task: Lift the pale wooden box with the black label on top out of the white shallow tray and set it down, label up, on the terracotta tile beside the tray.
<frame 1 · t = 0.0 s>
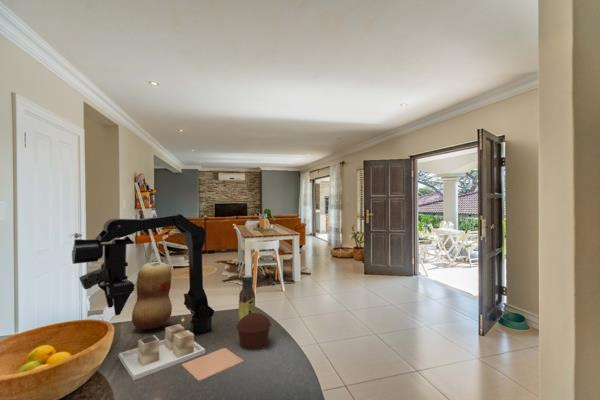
hand: (113, 311, 86), 15 cm above the kitchen counter, tool pointing down, fingers open, 9 cm apart
labelled box: (148, 360, 84), point 1 cm above the kitchen counter, touching white shallow tray
plain box A: (174, 346, 93), point 1 cm above the kitchen counter, touching white shallow tray
plain box B: (183, 353, 88), point 1 cm above the kitchen counter, touching white shallow tray
sauce bottle: (246, 328, 109), on the kitchen counter
muffin: (253, 345, 96), on the kitchen counter
butternut squash: (152, 329, 108), on the kitchen counter
white shallow tray: (162, 357, 87), on the kitchen counter
terracotta tile: (213, 365, 83), on the kitchen counter
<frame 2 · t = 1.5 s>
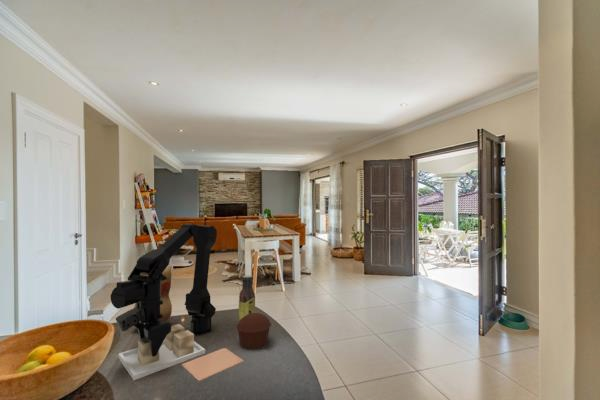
hand: (148, 350, 84), 3 cm above the kitchen counter, tool pointing down, fingers open, 9 cm apart
nothing on the kitchen counter moved.
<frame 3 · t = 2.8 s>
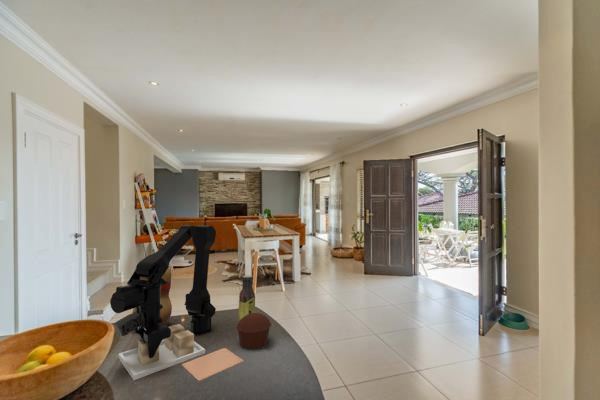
hand: (148, 354, 84), 2 cm above the kitchen counter, tool pointing down, fingers closed on labelled box, 4 cm apart
labelled box: (148, 360, 84), point 1 cm above the kitchen counter, touching gripper, white shallow tray
everything else where it was.
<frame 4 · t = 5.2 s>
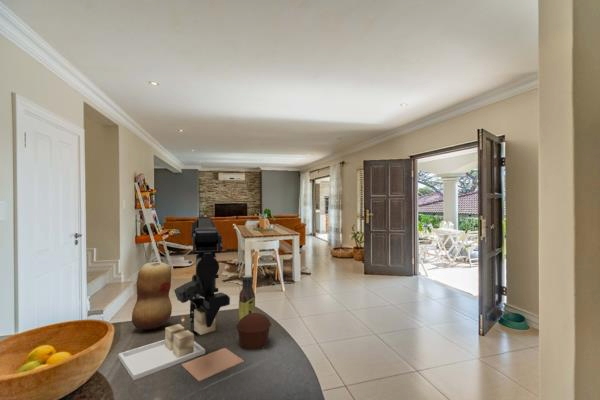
hand: (205, 324, 83), 12 cm above the kitchen counter, tool pointing down, fingers closed on labelled box, 4 cm apart
labelled box: (204, 330, 83), point 10 cm above the kitchen counter, touching gripper
everything else where it was.
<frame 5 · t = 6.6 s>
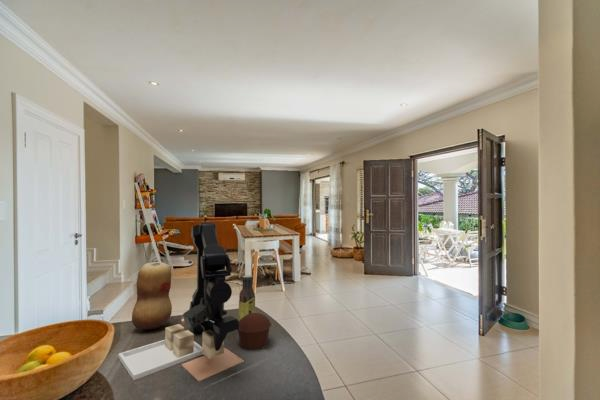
hand: (213, 347, 83), 5 cm above the kitchen counter, tool pointing down, fingers closed on labelled box, 4 cm apart
labelled box: (212, 352, 83), point 4 cm above the kitchen counter, touching gripper
everything else where it was.
when the fingers open (4 cm above the kitchen counter, at t = 7.6 s): labelled box drops 1 cm, resting on terracotta tile.
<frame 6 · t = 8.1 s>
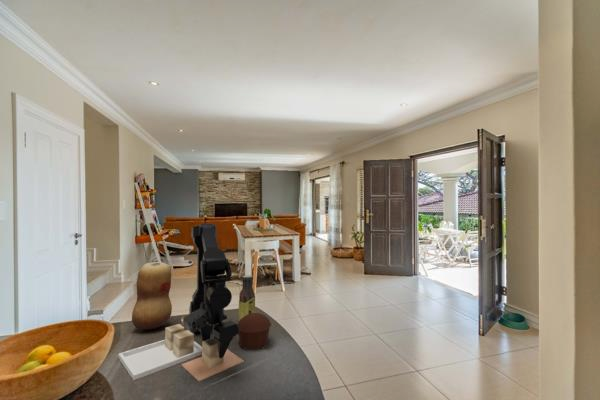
hand: (213, 351, 83), 4 cm above the kitchen counter, tool pointing down, fingers open, 9 cm apart
labelled box: (212, 362, 83), point 1 cm above the kitchen counter, touching terracotta tile
everything else where it was.
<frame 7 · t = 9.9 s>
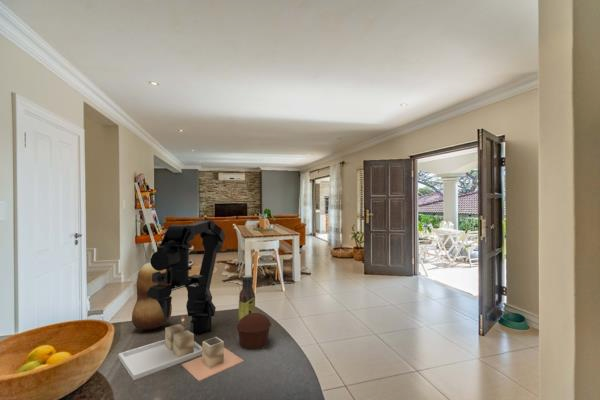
hand: (178, 312, 91), 13 cm above the kitchen counter, tool pointing down, fingers open, 9 cm apart
nothing on the kitchen counter moved.
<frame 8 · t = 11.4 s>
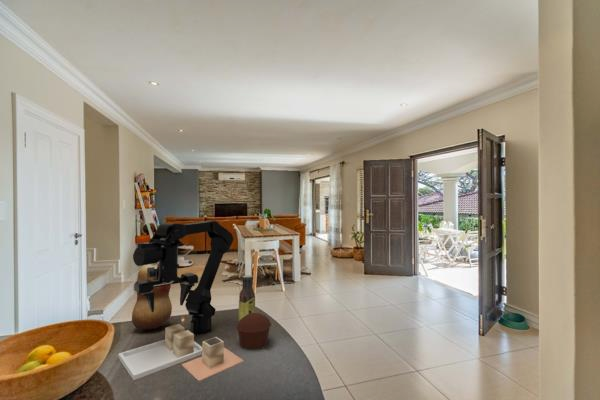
hand: (167, 308, 93), 13 cm above the kitchen counter, tool pointing down, fingers open, 9 cm apart
nothing on the kitchen counter moved.
at the end: labelled box inside the target area on the terracotta tile (0.1 cm from its centre), point 0.8 cm above the terracotta tile's base; labelled box tilted 0°; the gripper is holding nothing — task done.
